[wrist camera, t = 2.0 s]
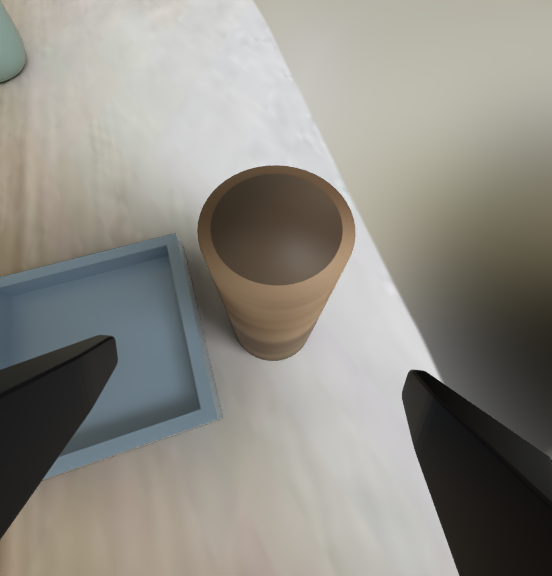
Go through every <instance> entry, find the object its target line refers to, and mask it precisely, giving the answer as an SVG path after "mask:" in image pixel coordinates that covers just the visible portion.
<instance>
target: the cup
mask: <svg viewBox="0 0 552 576" xmlns="http://www.w3.org/2000/svg"><path fill="white" fill-rule="evenodd" d="M25 62H26V52H25V48H24V45H23V42H22V39H21V37H20V35H19V32H18V30H17V28H16V27H15V25H14V23H13V21H12V19H11V17H10V16H9V14H8V12H7V11H6V9H5V7H4V6H3V4H2V2H1V1H0V82H4V81H7V80H9V79H11V78H13V77H14V76H16V75H17V74H18V73H19V72H20V71H21V70H22V69H23V67H24V65H25Z"/></svg>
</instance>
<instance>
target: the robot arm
mask: <svg viewBox="0 0 552 576" xmlns="http://www.w3.org/2000/svg"><path fill="white" fill-rule="evenodd" d="M117 363H118V354H117V347H116V340H115V338H114V337H113V336H110V335H97V336H94V337H91V338H88V339H85V340H82V341H80V342H77V343H74V344H71V345H68V346H66V347H63V348H60V349H57V350H54V351H51V352H49V353H46V354H43V355H40V356H37V357H35V358H32V359H29V360H26V361H23V362H20V363H18V364H15V365H12V366H9V367H6V368H3V369H1V370H0V539H1V538H2V536H3V535H4V534H5V532H6V531H7V529H8V528H9V527H10V525H11V524H12V522H13V521H14V519H15V518H16V517H17V515H18V514H19V512H20V511H21V510H22V508H23V507H24V505H25V504H26V502H27V501H28V500H29V498H30V497H31V495H32V494H33V492H34V491H35V490H36V488H37V487H38V485H39V484H40V483H41V481H42V480H43V478H44V477H45V475H46V474H47V473H48V471H49V470H50V468H51V467H52V465H53V464H54V463H55V461H56V460H57V458H58V457H59V456H60V454H61V453H62V451H63V450H64V448H65V447H66V446H67V444H68V443H69V441H70V440H71V439H72V437H73V436H74V434H75V433H76V431H77V430H78V429H79V427H80V426H81V424H82V423H83V421H84V420H85V419H86V417H87V416H88V414H89V413H90V411H91V410H92V408H93V406H94V405H95V403H96V401H97V400H98V398H99V396H100V394H101V393H102V391H103V389H104V387H105V385H106V384H107V382H108V380H109V378H110V377H111V375H112V373H113V371H114V369H115V368H116V366H117ZM402 400H403V404H404V409H405V413H406V417H407V421H408V425H409V429H410V434H411V438H412V442H413V445H414V449H415V452H416V455H417V458H418V461H419V464H420V466H421V469H422V472H423V475H424V478H425V480H426V483H427V486H428V489H429V492H430V494H431V497H432V500H433V503H434V506H435V509H436V511H437V514H438V517H439V520H440V523H441V525H442V528H443V531H444V534H445V537H446V539H447V542H448V545H449V548H450V551H451V554H452V556H453V559H454V562H455V565H456V568H457V570H458V573H459V576H552V460H551V458H550V457H549V456H548V455H546V454H545V453H543V452H542V451H540V450H539V449H538V448H536V447H535V446H533V445H532V444H530V443H529V442H527V441H526V440H524V439H523V438H521V437H520V436H519V435H517V434H516V433H514V432H513V431H511V430H510V429H508V428H507V427H506V426H504V425H503V424H501V423H500V422H498V421H497V420H495V419H494V418H492V417H491V416H490V415H488V414H487V413H485V412H484V411H482V410H481V409H479V408H478V407H476V406H475V405H473V404H472V403H471V402H469V401H467V400H466V399H465V398H463V397H462V396H460V395H459V394H458V393H456V392H455V391H453V390H452V389H450V388H449V387H447V386H446V385H444V384H443V383H442V382H440V381H439V380H437V379H436V378H434V377H433V376H431V375H430V374H428V373H427V372H425V371H421V370H410V371H409V372H408V375H407V378H406V381H405V384H404V387H403V391H402Z"/></svg>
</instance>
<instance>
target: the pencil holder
mask: <svg viewBox="0 0 552 576" xmlns="http://www.w3.org/2000/svg"><path fill="white" fill-rule="evenodd" d="M198 241H199V245H200V249H201V252H202V254H203V256H204V259H205V261H206V264H207V266H208V268H209V271H210V273H211V276H212V278H213V280H214V283H215V285H216V288H217V290H218V292H219V295H220V297H221V299H222V302H223V304H224V307H225V309H226V311H227V314H228V316H229V319H230V321H231V323H232V326H233V328H234V330H235V333H236V335H237V338H238V340H239V342H240V343H241V345H242V346H243V347H244V349H245V350H247V351H248V352H249V353H250V354H252V355H253V356H255V357H257V358H260V359H263V360H268V361H278V360H283V359H286V358H289V357H291V356H293V355H294V354H296V353H297V352H298V351H299V350H300V349H301V348H302V347H303V346H304V344H305V343H306V341H307V339H308V337H309V335H310V333H311V332H312V330H313V328H314V326H315V324H316V322H317V320H318V318H319V316H320V314H321V312H322V310H323V308H324V306H325V305H326V303H327V301H328V299H329V297H330V295H331V293H332V291H333V289H334V287H335V285H336V283H337V281H338V279H339V278H340V276H341V274H342V272H343V270H344V268H345V266H346V264H347V262H348V260H349V258H350V256H351V254H352V250H353V247H354V242H355V224H354V219H353V216H352V213H351V210H350V208H349V206H348V204H347V202H346V201H345V200H344V198H343V197H342V195H341V194H340V193H339V192H338V191H337V190H336V189H335V188H334V187H333V186H332V185H331V184H329V183H328V182H327V181H325V180H324V179H322V178H320V177H319V176H317V175H315V174H313V173H310V172H308V171H305V170H302V169H298V168H294V167H288V166H262V167H257V168H252V169H249V170H246V171H243V172H240V173H238V174H236V175H234V176H232V177H231V178H229V179H227V180H226V181H224V182H223V183H222V184H221V185H219V186H218V187H217V188H216V189H215V190H214V191H213V192H212V194H211V195H210V196H209V198H208V199H207V201H206V202H205V204H204V206H203V208H202V211H201V213H200V217H199V221H198Z"/></svg>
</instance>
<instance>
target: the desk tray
mask: <svg viewBox="0 0 552 576" xmlns="http://www.w3.org/2000/svg"><path fill="white" fill-rule="evenodd" d="M97 335H110V336H113V337H114V338H115V340H116V347H117V354H118V363H117V366H116V368H115V369H114V371H113V373H112V375H111V377H110V378H109V380H108V382H107V384H106V385H105V387H104V389H103V391H102V393H101V394H100V396H99V398H98V400H97V401H96V403H95V405H94V406H93V408H92V410H91V411H90V413H89V414H88V416H87V417H86V419H85V420H84V421H83V423H82V424H81V426H80V427H79V429H78V430H77V431H76V433H75V434H74V436H73V437H72V439H71V440H70V441H69V443H68V444H67V446H66V447H65V448H64V450H63V451H62V453H61V454H60V456H59V457H58V458H57V460H56V461H55V463H54V464H53V465H52V467H51V468H50V470H49V471H48V473H47V474H46V475H45V477H44V478H43V480H46V479H49V478H52V477H55V476H58V475H61V474H64V473H66V472H69V471H72V470H75V469H78V468H81V467H84V466H87V465H90V464H93V463H95V462H98V461H101V460H104V459H107V458H110V457H113V456H116V455H119V454H122V453H124V452H127V451H130V450H133V449H136V448H139V447H142V446H145V445H148V444H151V443H154V442H156V441H159V440H162V439H165V438H168V437H171V436H174V435H177V434H180V433H183V432H185V431H188V430H191V429H194V428H197V427H200V426H203V425H206V424H209V423H212V422H214V421H217V420H220V419H223V415H222V410H221V406H220V402H219V397H218V393H217V389H216V385H215V380H214V376H213V372H212V367H211V363H210V359H209V355H208V350H207V346H206V342H205V338H204V333H203V329H202V325H201V320H200V316H199V312H198V308H197V303H196V299H195V295H194V290H193V286H192V282H191V278H190V273H189V269H188V265H187V261H186V256H185V252H184V248H183V246H182V244H181V242H180V241H179V239H178V237H177V235H176V233H175V234H171V235H167V236H163V237H159V238H155V239H151V240H147V241H143V242H139V243H135V244H131V245H127V246H123V247H119V248H115V249H111V250H107V251H103V252H99V253H95V254H91V255H87V256H83V257H79V258H75V259H71V260H67V261H63V262H59V263H55V264H51V265H47V266H43V267H39V268H35V269H31V270H27V271H23V272H19V273H15V274H11V275H7V276H3V277H0V370H1V369H3V368H6V367H9V366H12V365H15V364H18V363H20V362H23V361H26V360H29V359H32V358H35V357H37V356H40V355H43V354H46V353H49V352H51V351H54V350H57V349H60V348H63V347H66V346H68V345H71V344H74V343H77V342H80V341H82V340H85V339H88V338H91V337H94V336H97ZM43 480H42V481H43Z"/></svg>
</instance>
